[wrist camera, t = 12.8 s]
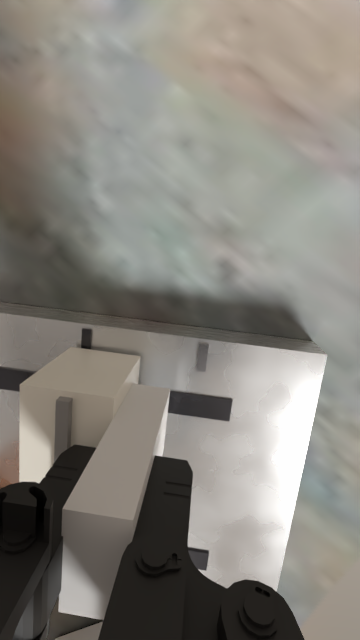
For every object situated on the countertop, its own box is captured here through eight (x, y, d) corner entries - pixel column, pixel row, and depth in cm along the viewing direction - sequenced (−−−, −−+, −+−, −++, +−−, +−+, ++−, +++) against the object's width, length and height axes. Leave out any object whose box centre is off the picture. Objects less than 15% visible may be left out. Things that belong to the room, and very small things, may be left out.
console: (-109, 519, 20) (-144, 549, 18) (-131, 285, 17) (-177, 290, 15) (264, 582, 19) (270, 623, 17) (313, 341, 16) (328, 355, 14)
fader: (67, 431, 15) (14, 501, 11) (70, 346, 15) (14, 388, 10) (133, 441, 15) (103, 515, 11) (140, 356, 14) (111, 402, 10)
